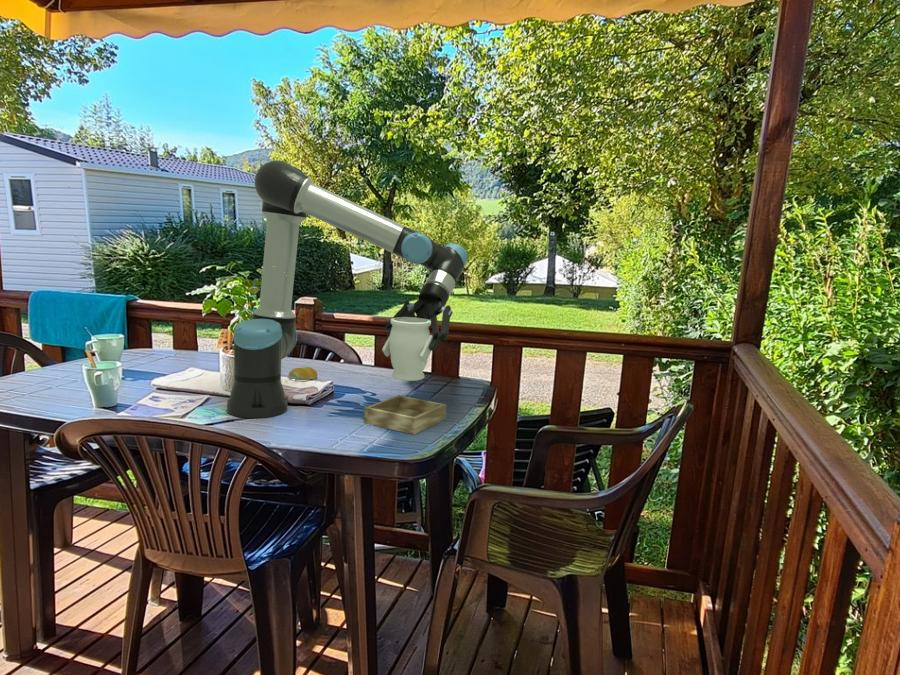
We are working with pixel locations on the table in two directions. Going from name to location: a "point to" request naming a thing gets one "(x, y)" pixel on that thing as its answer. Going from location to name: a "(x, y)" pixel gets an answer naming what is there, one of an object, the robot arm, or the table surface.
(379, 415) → the holder
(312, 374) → the bread roll
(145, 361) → the table surface
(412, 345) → the jar
